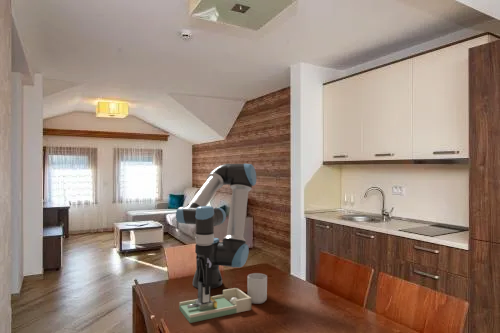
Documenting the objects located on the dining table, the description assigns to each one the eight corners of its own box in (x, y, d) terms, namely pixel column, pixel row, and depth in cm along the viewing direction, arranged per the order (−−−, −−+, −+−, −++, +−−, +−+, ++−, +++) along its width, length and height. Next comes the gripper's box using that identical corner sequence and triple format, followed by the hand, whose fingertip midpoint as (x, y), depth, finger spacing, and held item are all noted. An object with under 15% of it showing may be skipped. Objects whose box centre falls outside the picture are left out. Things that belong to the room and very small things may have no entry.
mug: (261, 306, 146) (262, 280, 147) (243, 302, 150) (244, 277, 151) (272, 296, 157) (272, 273, 157) (255, 293, 161) (255, 270, 161)
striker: (184, 306, 140) (185, 281, 140) (209, 301, 145) (210, 277, 145) (190, 313, 133) (191, 287, 133) (217, 308, 138) (217, 283, 138)
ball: (236, 295, 149) (235, 304, 149) (229, 296, 147) (228, 304, 147) (240, 298, 146) (239, 307, 145) (232, 299, 144) (231, 307, 144)
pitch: (179, 309, 142) (179, 297, 142) (236, 298, 155) (236, 287, 155) (189, 323, 129) (190, 310, 130) (251, 309, 142) (251, 297, 142)
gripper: (189, 240, 145) (188, 294, 145) (203, 249, 130) (202, 309, 130) (205, 238, 149) (204, 291, 149) (221, 247, 134) (220, 305, 134)
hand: (203, 299), depth 140 cm, fingers closed on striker, 4 cm apart
